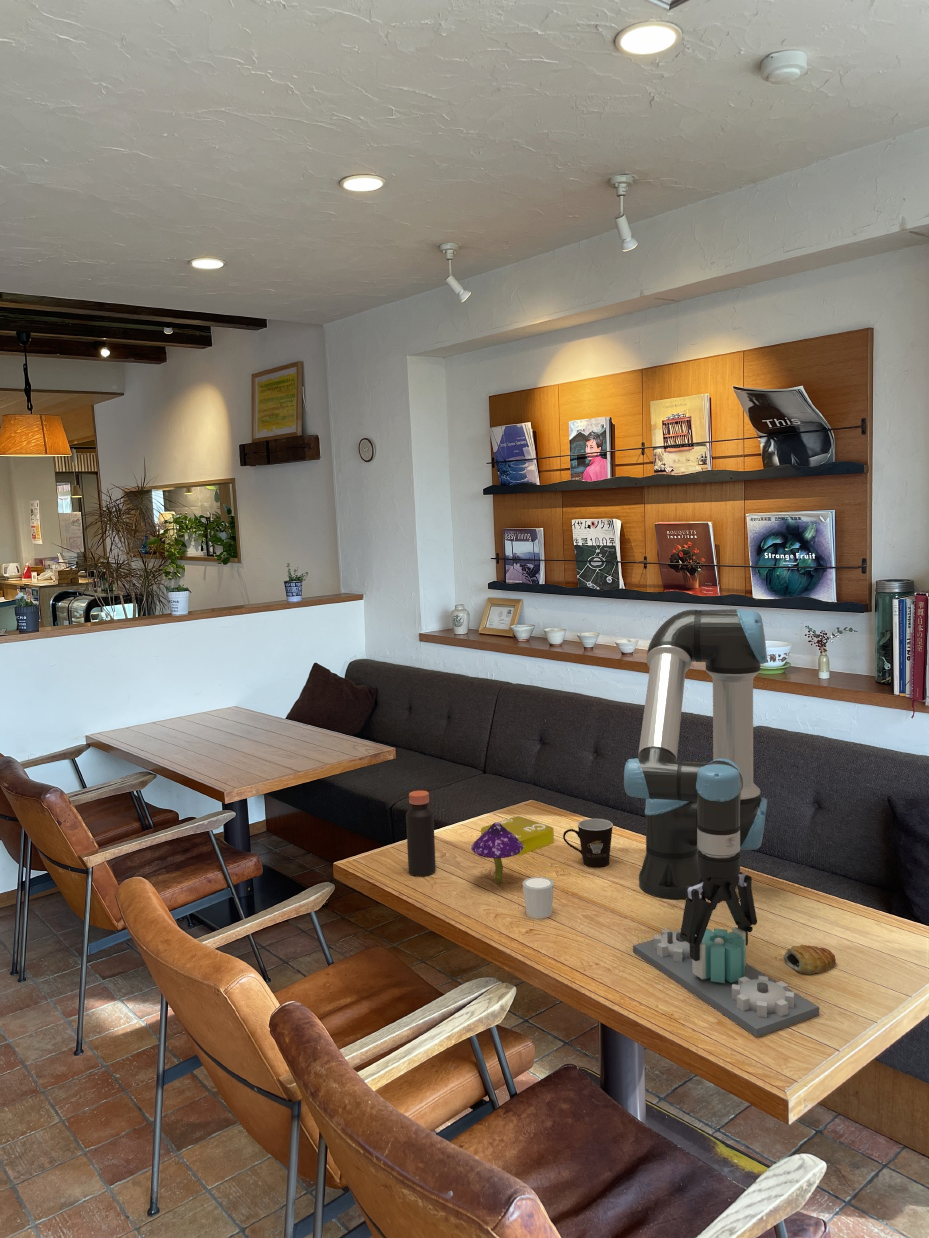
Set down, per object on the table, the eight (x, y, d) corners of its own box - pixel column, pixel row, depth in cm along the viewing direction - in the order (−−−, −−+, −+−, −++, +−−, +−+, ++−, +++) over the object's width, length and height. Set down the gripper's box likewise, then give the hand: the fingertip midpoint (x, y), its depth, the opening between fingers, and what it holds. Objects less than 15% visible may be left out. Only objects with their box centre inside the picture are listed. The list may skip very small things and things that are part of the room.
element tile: (518, 829, 255) (518, 813, 254) (557, 843, 243) (556, 826, 243) (478, 843, 245) (477, 826, 245) (516, 858, 234) (515, 840, 233)
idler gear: (721, 954, 174) (721, 924, 173) (754, 974, 166) (754, 943, 165) (684, 965, 170) (684, 935, 169) (716, 987, 162) (716, 954, 161)
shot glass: (552, 920, 196) (552, 889, 195) (521, 919, 197) (520, 888, 197) (556, 907, 203) (555, 877, 202) (525, 905, 204) (524, 875, 203)
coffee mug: (618, 859, 229) (617, 821, 228) (605, 872, 221) (604, 832, 220) (575, 852, 235) (575, 815, 234) (562, 864, 227) (561, 825, 226)
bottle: (433, 877, 222) (429, 797, 220) (405, 876, 223) (402, 797, 221) (438, 866, 229) (435, 789, 226) (411, 866, 230) (408, 789, 228)
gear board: (689, 936, 186) (689, 896, 186) (819, 1015, 156) (819, 968, 155) (633, 952, 180) (632, 911, 180) (756, 1037, 150) (756, 989, 149)
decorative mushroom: (461, 883, 218) (459, 822, 216) (499, 868, 226) (497, 810, 224) (497, 898, 208) (495, 835, 207) (535, 882, 216) (534, 821, 215)
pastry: (820, 953, 178) (820, 934, 177) (844, 969, 171) (845, 950, 171) (780, 962, 175) (780, 943, 174) (803, 978, 169) (803, 959, 168)
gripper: (684, 869, 158) (686, 993, 160) (778, 846, 167) (778, 963, 169) (657, 855, 164) (659, 974, 167) (749, 834, 173) (749, 947, 176)
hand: (719, 969), depth 168 cm, fingers closed on idler gear, 9 cm apart
